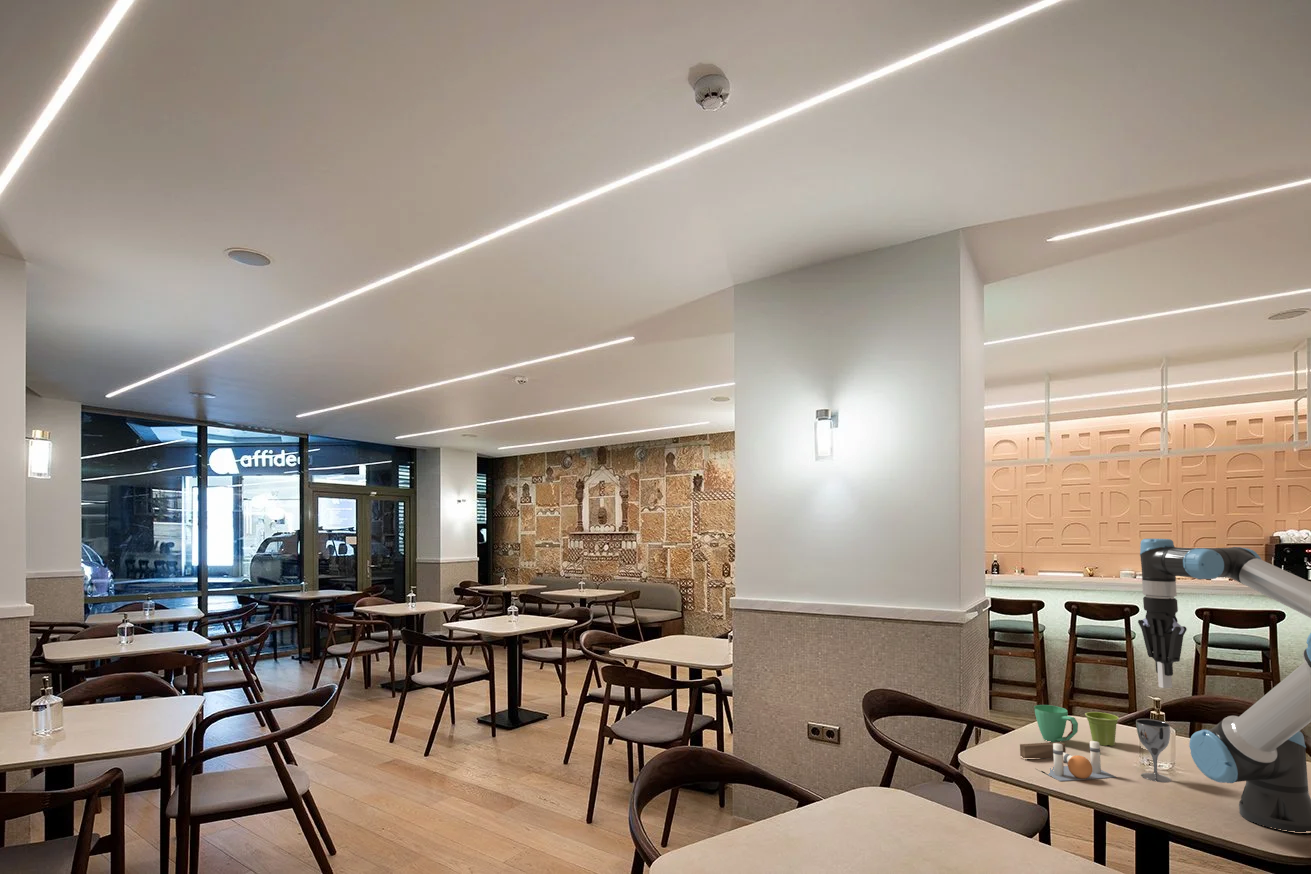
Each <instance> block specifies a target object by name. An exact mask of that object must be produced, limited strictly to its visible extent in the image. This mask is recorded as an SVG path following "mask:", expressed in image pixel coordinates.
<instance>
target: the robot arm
mask: <svg viewBox="0 0 1311 874" xmlns="http://www.w3.org/2000/svg"><path fill="white" fill-rule="evenodd" d="M1139 547H1140V548H1139V549H1140V552H1139V556H1140V563H1141V565H1140V566H1141V580H1142V581H1141V583H1142V584H1141V585H1142V588H1141V589H1142V595H1144V596H1143V598H1142V599H1143V610H1144V611H1146V613H1145V618H1142V619H1138V621H1137V624H1138V625H1139V627H1140V629H1141V632H1142V637H1143V640H1144V644H1145V649H1146V652H1147V656H1148V657H1149V658H1152V659H1153V660H1154V661H1155V672H1156V673H1157V682H1158V683H1157V686H1158V688H1161V689H1171V688H1172V689H1173V680H1172V679H1173V678H1172V676H1174V669H1173V667H1174V666H1173V664H1174V663H1176V662H1180V661H1181V655H1182V648H1183V642H1184V635H1185V633H1186V632H1187V630H1188V629H1187V627H1186V626H1185V625H1184V626H1182V625H1181V624H1179V621H1178V618H1177V613H1178V610H1179V607H1178V600H1177V598H1175V597H1177V582H1176V581H1177V578H1176V577H1182V578H1183V577H1185V578H1192V579H1197V580H1214V579H1217V578H1229V579H1232V580H1234V581H1235V582H1237V583H1240V584H1242V585H1244V586H1247V587H1248V588H1250V589H1253V590H1254V591H1256V592H1258V593H1260V594H1262V595H1264V596H1266V597H1268V598H1270V599H1273V600H1274V601H1276V602H1278V603H1280V604H1282V605H1284V606H1286V607H1287V608H1290V609H1292V610H1294V611H1296V612H1298V613H1301V614H1302V615H1304V616H1306V617H1308V618H1310V619H1311V581H1309V580H1307V579H1305V578H1302V577H1300V576H1298V575H1295V574H1294V573H1292V572H1288V571H1287V570H1285V569H1282V568H1280V567H1278V566H1276V565H1273V564H1271V563H1269V562H1267V561H1265V560H1263V559H1262V558H1261V556H1260V555H1259V554H1258V553H1257V552H1256V551H1255V550H1254V549H1250V548H1248V547H1247V548H1246V547H1241V546H1238V547H1237V546H1233V547H1177V546H1175V545H1174V541H1173V540H1172V539H1169V538H1143V539H1141V541H1140V545H1139ZM1305 644H1307V647H1306V648H1305V649H1304V651H1302V657H1303V661H1304V662H1302V663H1301V664H1300V665H1299V666H1297V668H1295V669H1294V670H1293V671H1292V672H1291V673H1289V674H1288V675H1287V676H1285V678H1284V679H1282V680H1281V681H1280V682H1279V683H1277V684H1276V685H1275V686H1274V687H1273V688H1271V689H1270V690H1269V691H1268V692H1267V693H1266V694H1264V695H1263V696H1262V697H1261V698H1260V699H1258V700H1257V701H1256V702H1254V703H1253V704H1252V705H1251V706H1250V707H1249V708H1247V710H1245V711H1244V712H1243V713H1242V714H1240V715H1239V716H1238V715H1228V716H1227V717H1224V718H1223V719H1222V720H1221V721H1219V722H1218V723H1216V725H1215V726H1213V727H1212V728H1210V729H1201V730H1198V731H1195V732H1194V733H1193V734H1192V735H1191V736H1190V739H1189V745H1188V747H1189V750H1190V754H1191V755H1190V756H1191V758H1192V760H1193V762H1194V764H1195V765H1196V767H1197V768H1198V770H1199V771H1200V772H1201V773H1202V774H1203V775H1204V776H1206V778H1208V779H1209V780H1212V781H1214V782H1216V783H1221V784H1222V783H1224V784H1234V783H1239V782H1240V783H1241V782H1245V784H1244V787H1243V790H1242V793H1241V796H1240V800H1239V803H1238V809H1239V811H1238V813H1239V815H1240V816H1241V817H1242V818H1244V819H1245V820H1247V821H1248V822H1250V823H1253V822H1254V823H1253V824H1255V823H1257V824H1256V825H1258V824H1259V825H1258V826H1261V825H1264V826H1267V827H1272V828H1276V829H1281V830H1287V831H1295V832H1306V831H1311V797H1310V792H1309V782H1308V780H1309V779H1308V778H1309V777H1308V768H1307V767H1308V765H1307V753H1306V749H1307V746H1306V743H1305V737H1304V734H1303V732H1301V730H1302V729H1304V728H1305V727H1307V726H1308V725H1309V724H1310V723H1311V632H1310V633H1309V635H1308V637H1307V639H1306V643H1305ZM1264 826H1263V827H1264ZM1267 827H1266V828H1267Z"/></svg>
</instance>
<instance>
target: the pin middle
mask: <svg viewBox="0 0 1311 874" xmlns="http://www.w3.org/2000/svg"><path fill="white" fill-rule="evenodd" d="M1073 756H1074V755H1072V754H1070V753H1067V752H1066V753H1064V752H1063V762H1065V763H1066V764H1068V761H1069V759H1070V758H1071V757H1073Z"/></svg>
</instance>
